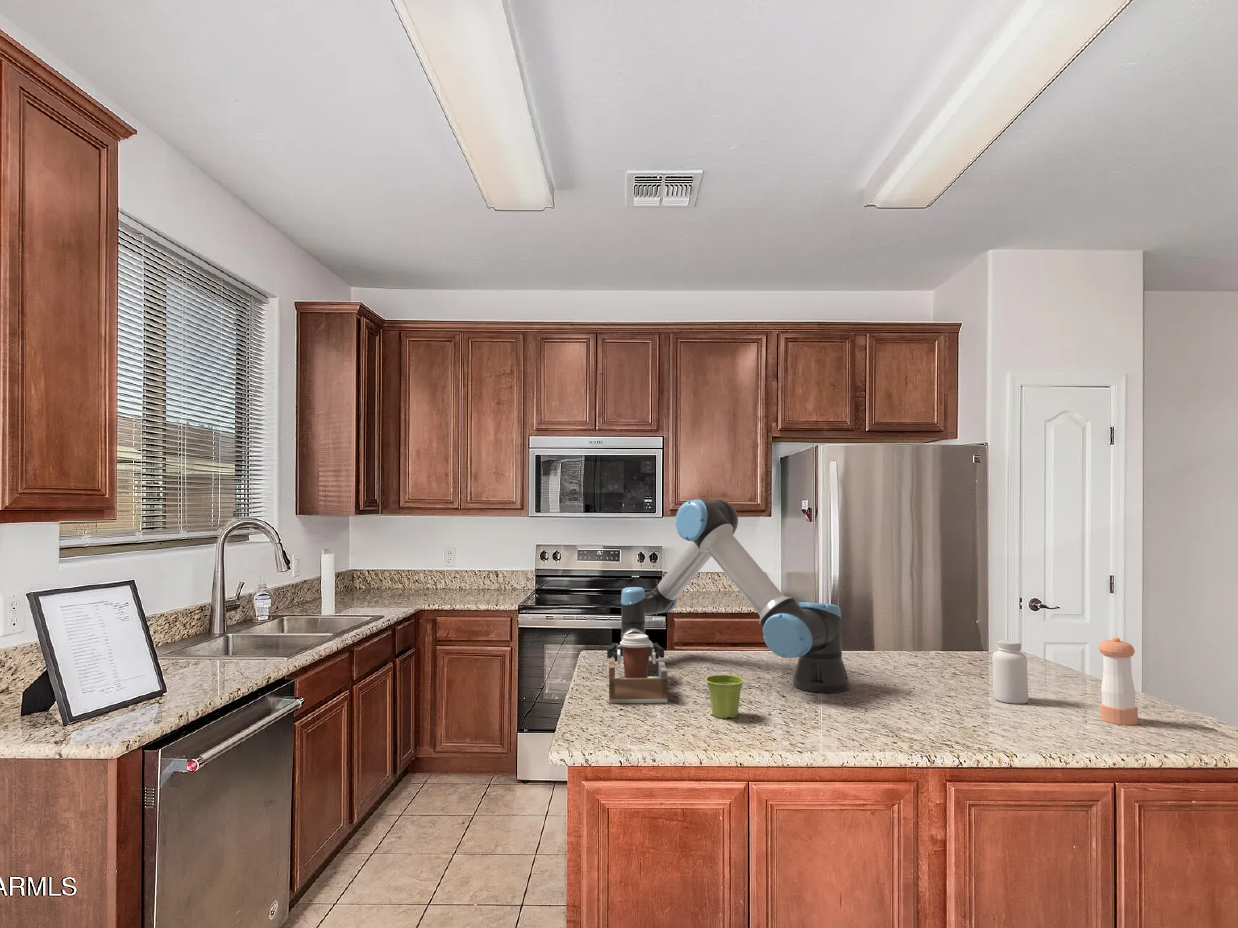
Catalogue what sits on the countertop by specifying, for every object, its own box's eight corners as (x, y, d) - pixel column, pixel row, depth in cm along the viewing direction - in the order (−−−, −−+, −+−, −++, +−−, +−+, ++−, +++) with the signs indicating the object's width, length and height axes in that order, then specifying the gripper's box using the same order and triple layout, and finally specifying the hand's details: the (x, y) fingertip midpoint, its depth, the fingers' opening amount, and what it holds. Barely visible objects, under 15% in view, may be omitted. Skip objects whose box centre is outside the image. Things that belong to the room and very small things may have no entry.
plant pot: (750, 713, 184) (749, 677, 184) (735, 723, 176) (735, 685, 176) (714, 707, 189) (714, 672, 189) (699, 717, 180) (698, 680, 181)
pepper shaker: (1139, 726, 170) (1135, 641, 171) (1100, 722, 174) (1097, 638, 175) (1137, 718, 177) (1134, 636, 177) (1100, 714, 180) (1097, 633, 181)
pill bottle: (1027, 698, 195) (1025, 639, 196) (1029, 706, 188) (1027, 645, 189) (993, 695, 199) (991, 637, 199) (994, 702, 191) (992, 643, 192)
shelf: (609, 680, 218) (609, 648, 218) (661, 679, 218) (660, 648, 219) (609, 703, 194) (609, 667, 194) (667, 702, 194) (667, 667, 194)
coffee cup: (653, 675, 215) (652, 633, 216) (651, 683, 206) (651, 639, 207) (621, 674, 216) (621, 632, 217) (618, 682, 207) (618, 638, 208)
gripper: (669, 655, 229) (676, 672, 207) (598, 655, 229) (597, 673, 207) (669, 630, 230) (675, 644, 207) (598, 631, 230) (597, 645, 207)
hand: (636, 658), depth 207 cm, fingers closed on coffee cup, 9 cm apart
